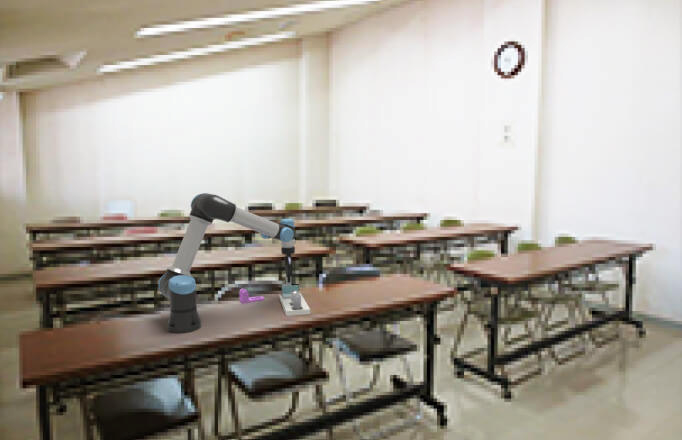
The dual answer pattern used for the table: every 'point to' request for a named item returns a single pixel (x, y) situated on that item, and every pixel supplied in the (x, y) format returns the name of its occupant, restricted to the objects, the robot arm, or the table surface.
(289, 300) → the housing
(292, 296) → the jaw pin
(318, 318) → the table surface
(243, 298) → the bracket
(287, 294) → the lid
